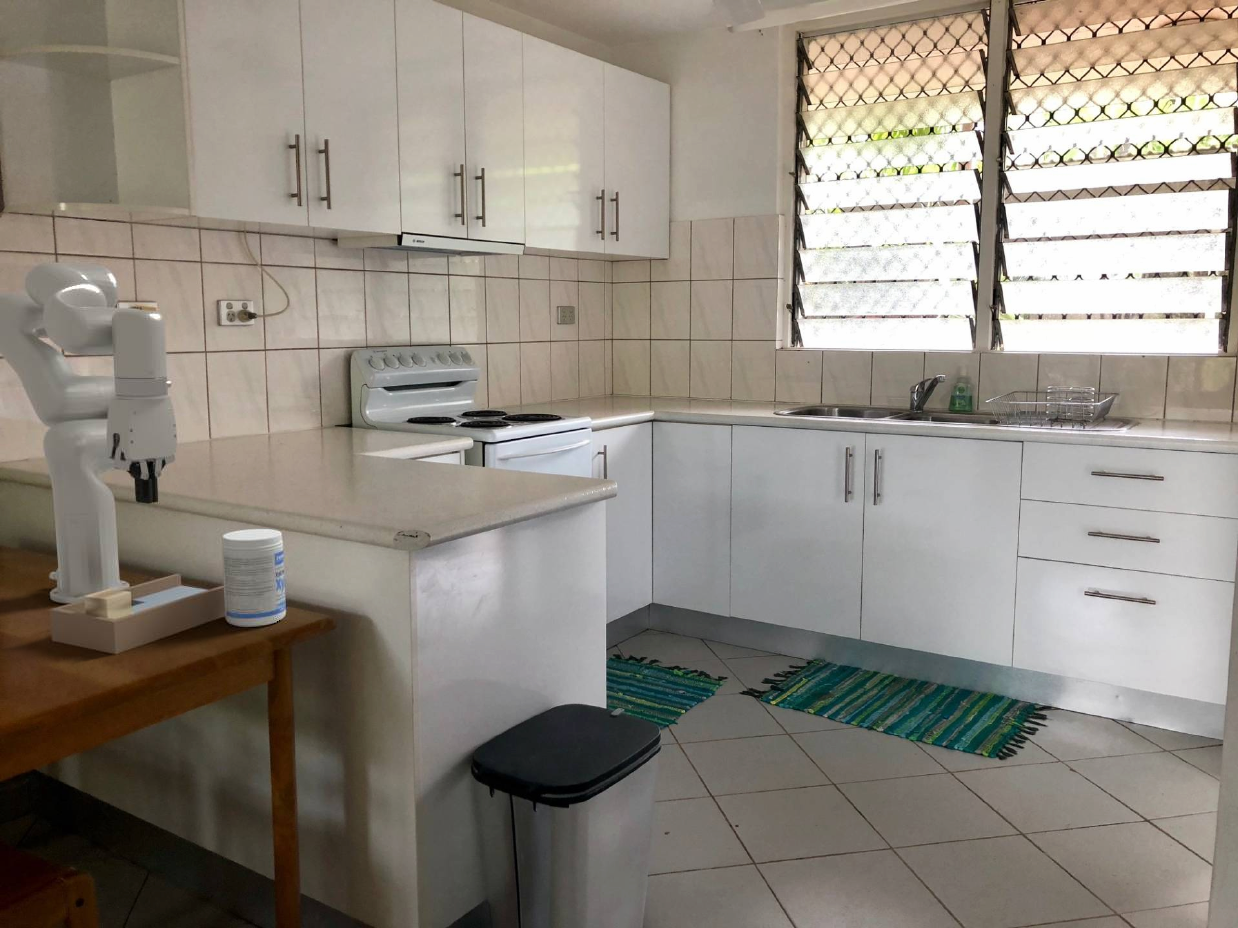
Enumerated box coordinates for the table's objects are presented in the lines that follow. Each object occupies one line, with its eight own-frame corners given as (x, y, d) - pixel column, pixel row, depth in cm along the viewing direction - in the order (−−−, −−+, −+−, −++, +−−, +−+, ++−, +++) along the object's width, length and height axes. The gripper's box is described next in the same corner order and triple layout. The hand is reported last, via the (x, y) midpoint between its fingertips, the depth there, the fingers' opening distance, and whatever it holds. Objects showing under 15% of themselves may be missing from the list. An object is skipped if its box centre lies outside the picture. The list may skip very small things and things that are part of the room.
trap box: (51, 640, 150) (49, 609, 149) (177, 601, 172) (176, 573, 171) (116, 654, 144) (114, 621, 144) (237, 611, 166) (236, 583, 166)
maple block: (86, 624, 149) (84, 596, 148) (110, 616, 153) (108, 588, 152) (108, 628, 147) (106, 599, 146) (132, 619, 151) (130, 591, 151)
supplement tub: (292, 623, 161) (289, 536, 159) (232, 632, 155) (228, 542, 153) (277, 608, 169) (274, 525, 166) (219, 616, 163) (215, 531, 161)
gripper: (163, 384, 162) (168, 492, 165) (82, 390, 148) (89, 507, 151) (196, 387, 159) (201, 497, 162) (117, 393, 145) (123, 512, 148)
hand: (147, 501), depth 156 cm, fingers closed
